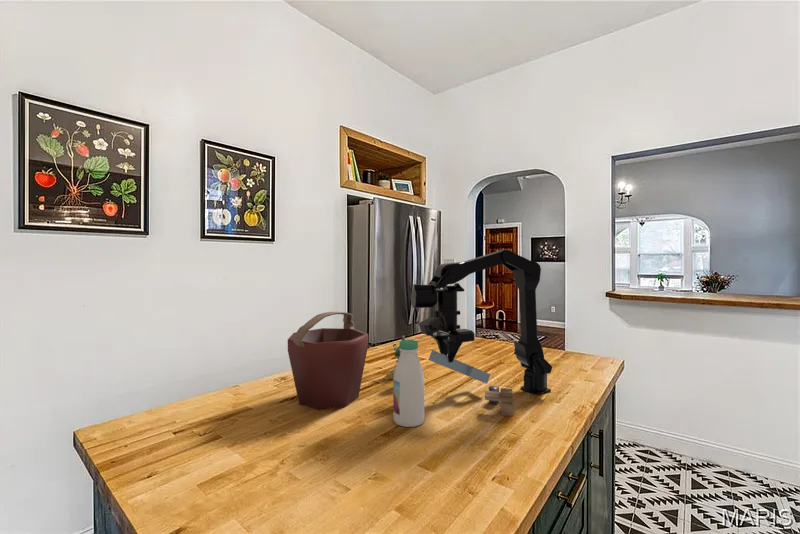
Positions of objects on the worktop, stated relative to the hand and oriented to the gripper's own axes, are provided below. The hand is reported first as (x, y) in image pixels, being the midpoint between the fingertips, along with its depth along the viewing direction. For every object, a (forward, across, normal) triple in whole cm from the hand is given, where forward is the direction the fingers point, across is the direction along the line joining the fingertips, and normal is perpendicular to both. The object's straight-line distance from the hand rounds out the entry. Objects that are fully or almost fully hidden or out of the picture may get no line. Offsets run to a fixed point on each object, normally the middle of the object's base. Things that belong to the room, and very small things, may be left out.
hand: (447, 360), depth 111 cm
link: (+3, 0, +3) cm, 5 cm away
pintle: (+11, +9, +10) cm, 17 cm away
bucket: (+11, -15, -30) cm, 36 cm away
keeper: (+11, +15, +6) cm, 19 cm away
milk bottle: (+11, +9, -17) cm, 22 cm away
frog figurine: (+11, -26, 0) cm, 28 cm away
